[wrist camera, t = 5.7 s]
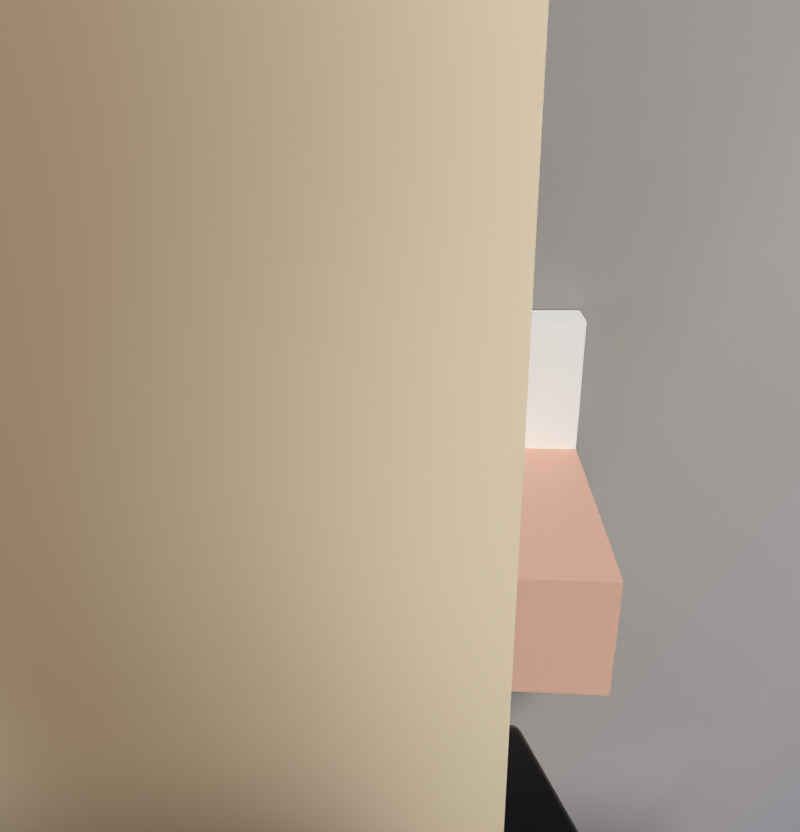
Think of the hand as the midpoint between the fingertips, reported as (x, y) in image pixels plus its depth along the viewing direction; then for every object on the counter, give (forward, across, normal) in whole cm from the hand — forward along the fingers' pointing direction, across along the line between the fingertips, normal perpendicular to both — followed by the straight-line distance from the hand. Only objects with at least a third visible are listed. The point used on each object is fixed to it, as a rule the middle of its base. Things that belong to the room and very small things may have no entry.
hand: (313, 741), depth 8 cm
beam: (+1, 0, 0) cm, 1 cm away
